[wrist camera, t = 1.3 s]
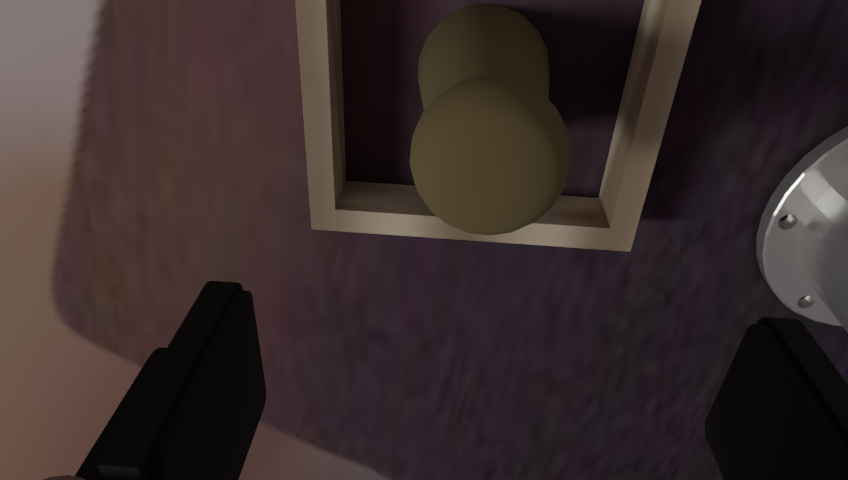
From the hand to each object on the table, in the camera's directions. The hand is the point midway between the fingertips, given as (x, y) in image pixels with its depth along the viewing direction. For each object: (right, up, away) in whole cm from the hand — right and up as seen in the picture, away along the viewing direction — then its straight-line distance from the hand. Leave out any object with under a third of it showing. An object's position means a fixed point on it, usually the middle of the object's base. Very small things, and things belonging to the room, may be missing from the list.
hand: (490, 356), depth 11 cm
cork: (+1, +10, +16) cm, 19 cm away
